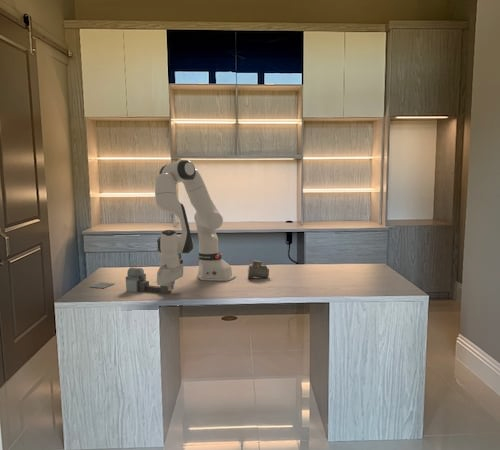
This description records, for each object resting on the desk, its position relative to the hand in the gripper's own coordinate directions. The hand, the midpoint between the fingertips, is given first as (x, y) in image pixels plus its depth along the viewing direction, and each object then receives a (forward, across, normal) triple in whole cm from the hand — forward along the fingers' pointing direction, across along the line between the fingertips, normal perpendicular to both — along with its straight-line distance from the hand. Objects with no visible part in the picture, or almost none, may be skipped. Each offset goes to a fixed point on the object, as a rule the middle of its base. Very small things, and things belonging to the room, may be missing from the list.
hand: (170, 289), depth 223 cm
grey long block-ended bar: (+2, 0, +11) cm, 11 cm away
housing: (+2, 0, +21) cm, 21 cm away
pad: (+2, +1, +43) cm, 43 cm away
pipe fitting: (+2, +43, -32) cm, 53 cm away
